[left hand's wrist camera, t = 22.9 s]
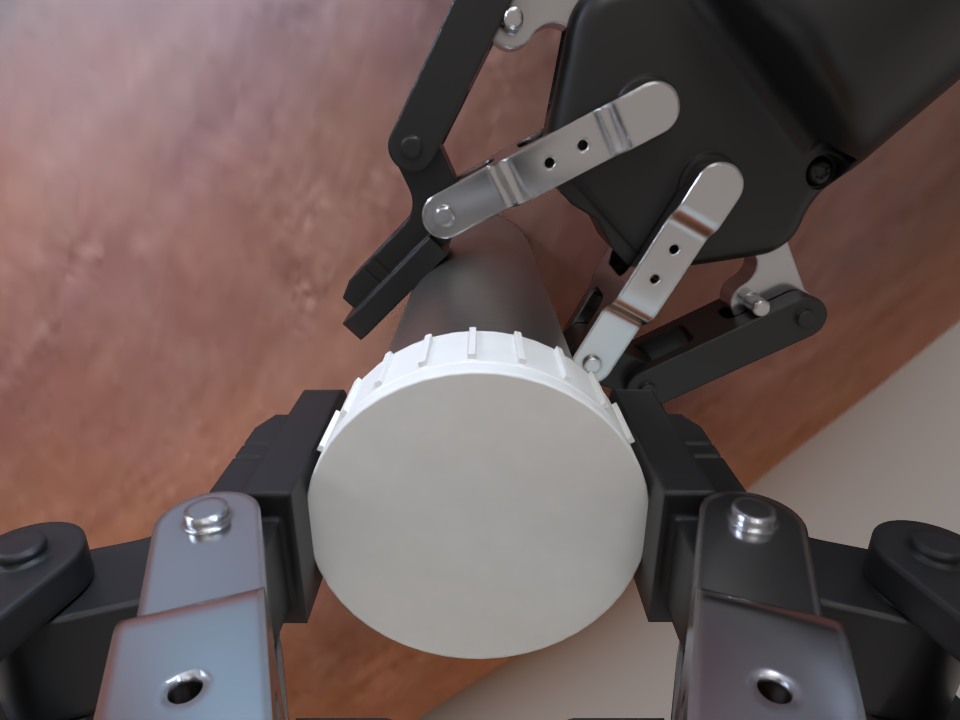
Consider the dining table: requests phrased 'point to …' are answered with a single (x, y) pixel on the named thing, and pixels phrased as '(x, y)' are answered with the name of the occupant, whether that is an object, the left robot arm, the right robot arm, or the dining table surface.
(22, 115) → the dining table surface
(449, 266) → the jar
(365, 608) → the lid
